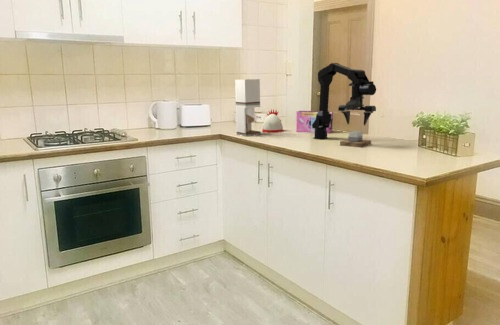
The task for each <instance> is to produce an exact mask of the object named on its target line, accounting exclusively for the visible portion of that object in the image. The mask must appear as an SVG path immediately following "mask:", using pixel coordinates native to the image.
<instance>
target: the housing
mask: <svg viewBox="0 0 500 325" xmlns="http://www.w3.org/2000/svg"><path fill="white" fill-rule="evenodd" d="M363 136H364V135H363V130H362V131H361V130H352V131H349V132H348V139H349V142H360V141H362V140H363Z"/></svg>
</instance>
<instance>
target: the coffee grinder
mask: <svg viewBox="0 0 500 325" xmlns="http://www.w3.org/2000/svg"><path fill="white" fill-rule="evenodd" d="M260 80H261V79H260V78H257V79H256V78H255V79H254V78H252V79H250V78H247V79H244V78H243V79H242V78H241V79H234V87H235V89H234V90H235V120H236V125H235V126H236V127H235V129H236V136H240V135H242V136H241V137H246V136H247V137H253V136H254V135H255V136H260V135H261V134H262V133H261V131H259V130H253V129H252V127H253V126H252V123H254V122H255V117H256V116H255V114H256V113H255V108H260V107H261V81H260Z"/></svg>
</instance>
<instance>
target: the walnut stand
mask: <svg viewBox="0 0 500 325" xmlns="http://www.w3.org/2000/svg"><path fill="white" fill-rule="evenodd" d="M371 144H372V140H370V139H362V141H360V142H349V138H348V139H345V140H341V141H339V146H341V147H342V146H343V147H344V146H345V147H354V148H364V147H366V146H369V145H371Z"/></svg>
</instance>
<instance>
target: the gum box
mask: <svg viewBox="0 0 500 325" xmlns="http://www.w3.org/2000/svg"><path fill="white" fill-rule="evenodd" d="M318 112H319V110H298V111H296V132H297V133H313V134H315V128H313V127H312V124H313V123H314V121H315V120H316V115H317V113H318ZM328 112H329V114H331V121H330V125H329V128H327V134H330V133H332V132H333V121H334V120H333V118H334V111H332V110H330V111H329V110H328Z"/></svg>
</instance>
